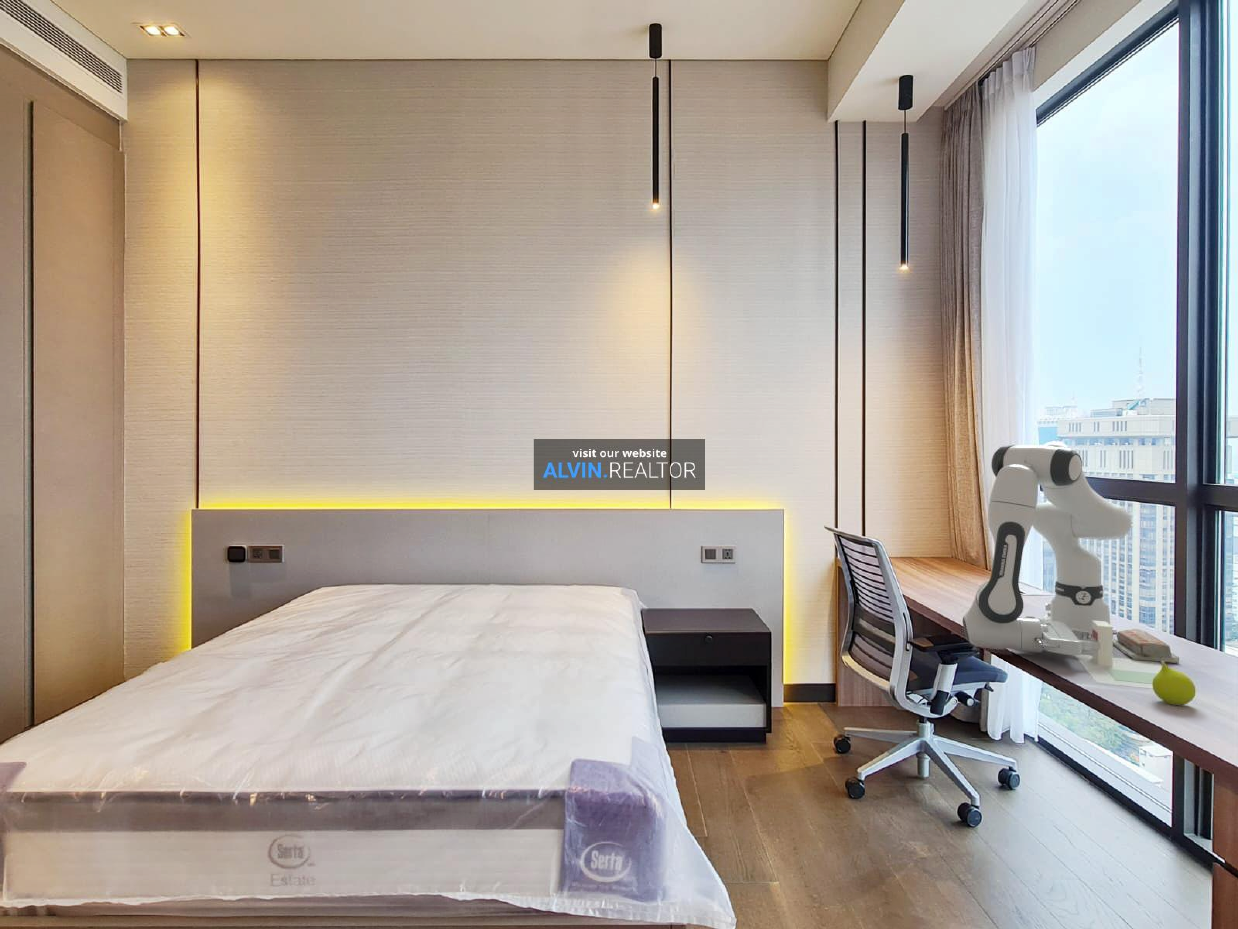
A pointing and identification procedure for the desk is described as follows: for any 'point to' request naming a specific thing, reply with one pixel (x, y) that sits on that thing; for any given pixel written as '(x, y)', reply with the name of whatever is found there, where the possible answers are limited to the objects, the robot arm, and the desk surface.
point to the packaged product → (1143, 646)
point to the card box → (1103, 643)
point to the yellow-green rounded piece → (1173, 686)
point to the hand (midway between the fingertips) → (1095, 640)
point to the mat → (1122, 671)
